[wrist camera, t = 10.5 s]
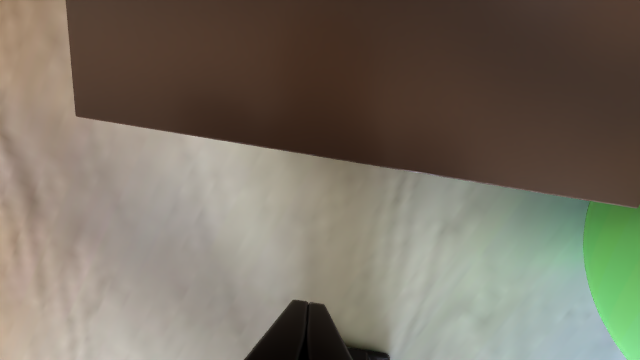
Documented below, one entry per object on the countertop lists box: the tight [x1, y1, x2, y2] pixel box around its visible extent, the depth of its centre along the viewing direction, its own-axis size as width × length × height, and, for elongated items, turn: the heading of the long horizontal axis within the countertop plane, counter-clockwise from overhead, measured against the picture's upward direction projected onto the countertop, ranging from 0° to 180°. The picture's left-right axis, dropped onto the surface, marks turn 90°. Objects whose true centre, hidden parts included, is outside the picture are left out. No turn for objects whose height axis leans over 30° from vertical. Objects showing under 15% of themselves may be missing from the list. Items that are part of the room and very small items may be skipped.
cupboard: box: [66, 0, 640, 208], centre depth 13 cm, size 11×18×9 cm, turn 81°
